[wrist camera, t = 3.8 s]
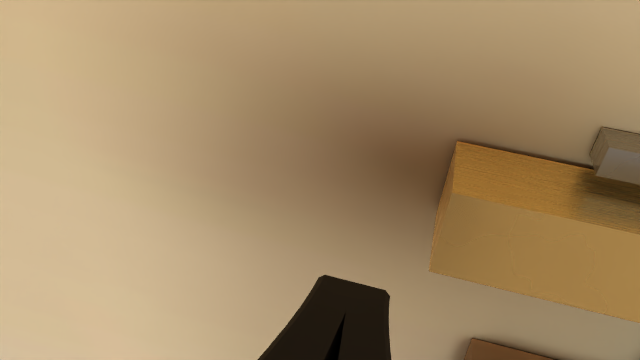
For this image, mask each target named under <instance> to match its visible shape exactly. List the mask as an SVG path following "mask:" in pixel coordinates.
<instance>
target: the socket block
mask: <svg viewBox="0 0 640 360" xmlns="http://www.w3.org/2000/svg"><path fill="white" fill-rule="evenodd" d="M590 157H591V161H592V164H593V168H594V171H595V175H596V176H600V177H604V178H609V179H614V180H619V181H623V182H628V183H633V184H637V185H640V135H639V134H634V133H629V132H624V131H619V130H614V129H609V128H604V127H602V128H601V131H600V133H599V135H598V137H597V139H596V142H595V144H594V146H593V148H592V150H591V153H590Z"/></svg>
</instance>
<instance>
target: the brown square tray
mask: <svg viewBox="0 0 640 360" xmlns="http://www.w3.org/2000/svg"><path fill="white" fill-rule="evenodd" d="M464 360H554V359H550V358H546V357H543V356H539V355H535V354H531V353H527V352H523V351H520V350H516V349H512V348H508V347H504V346H500V345H496V344H493V343H489V342H485V341H481V340H477V339H473V338H472V340H471V343H470V345H469V348H468V350H467V353H466V355H465V358H464Z"/></svg>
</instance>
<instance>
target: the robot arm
mask: <svg viewBox="0 0 640 360" xmlns="http://www.w3.org/2000/svg"><path fill="white" fill-rule="evenodd" d="M389 300H390V296H389V294H388V293H387V292H386V290H382V289H378V288H374V287H370V286H366V285H363V284H359V283H355V282H351V281H347V280H343V279H339V278H335V277H331V276H327V275H323V276H321V277H319V278H318V280H317V282H316V283H315V285H314V287H313V289H312V290H311V292H310V293H309V295H308V296H307V298H306V299H305V301H304V302H303V304H302V305H301V307H300V308H299V309H298V311H297V312H296V313H295V315H294V316H293V317H292V319H291V320H290V321H289V323H288V324H287V325H286V327H285V328H284V329H283V330H282V331H281V333H280V334H279V335H278V336H277V337H276V339H275V340H274V341H273V342H272V343H271V345H270V346H269V347H268V348H267V349H266V351H265V352H264V353H263V354H262V355H261V356H260V358H259V359H258V360H391V352H390V339H389Z"/></svg>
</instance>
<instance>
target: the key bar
mask: <svg viewBox="0 0 640 360" xmlns="http://www.w3.org/2000/svg"><path fill="white" fill-rule="evenodd" d="M429 271H430V272H434V273H438V274H442V275H446V276H451V277H455V278H459V279H463V280H467V281H471V282H475V283H479V284H483V285H487V286H491V287H495V288H499V289H504V290H508V291H512V292H516V293H520V294H524V295H528V296H532V297H536V298H540V299H544V300H548V301H552V302H556V303H561V304H565V305H569V306H573V307H577V308H581V309H585V310H589V311H593V312H597V313H601V314H605V315H609V316H614V317H618V318H622V319H626V320H630V321H634V322H638V323H640V185H637V184H633V183H628V182H623V181H619V180H614V179H609V178H604V177H600V176H596V175H595V171H594V170H592V169H588V168H583V167H578V166H573V165H569V164H564V163H559V162H554V161H550V160H545V159H540V158H535V157H531V156H526V155H521V154H516V153H512V152H507V151H502V150H497V149H493V148H488V147H483V146H478V145H474V144H469V143H464V142H459V141H457V143H456V146H455V150H454V154H453V157H452V161H451V164H450V168H449V171H448V175H447V178H446V182H445V185H444V189H443V192H442V196H441V199H440V203H439V206H438V210H437V213H436V219H435V227H434V235H433V243H432V250H431V258H430V266H429Z"/></svg>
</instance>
